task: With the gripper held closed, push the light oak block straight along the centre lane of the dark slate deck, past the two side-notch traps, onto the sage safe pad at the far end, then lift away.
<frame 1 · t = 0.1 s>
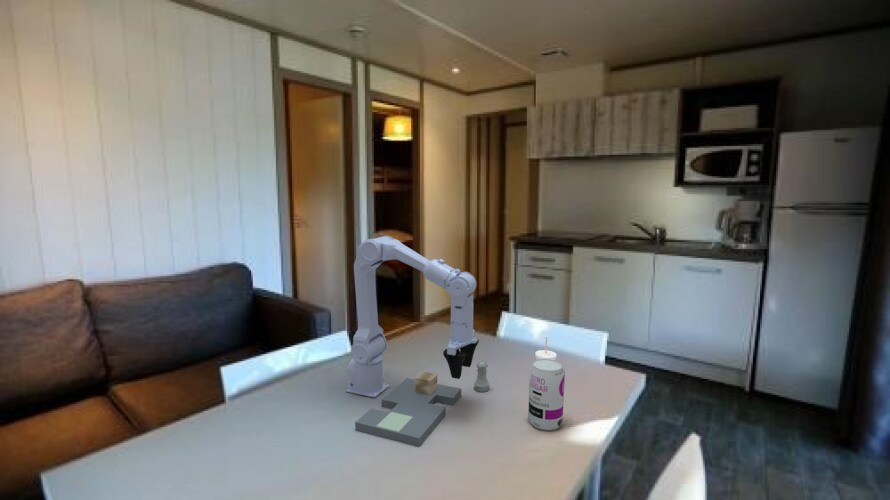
hand: (461, 371, 111), 10 cm above the table, fingers open, 7 cm apart
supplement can: (545, 423, 106), on the table
rook chess piece: (481, 389, 124), on the table
oak block: (426, 389, 119), point 2 cm above the table, touching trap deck
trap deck: (412, 411, 111), on the table
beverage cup: (544, 383, 127), on the table
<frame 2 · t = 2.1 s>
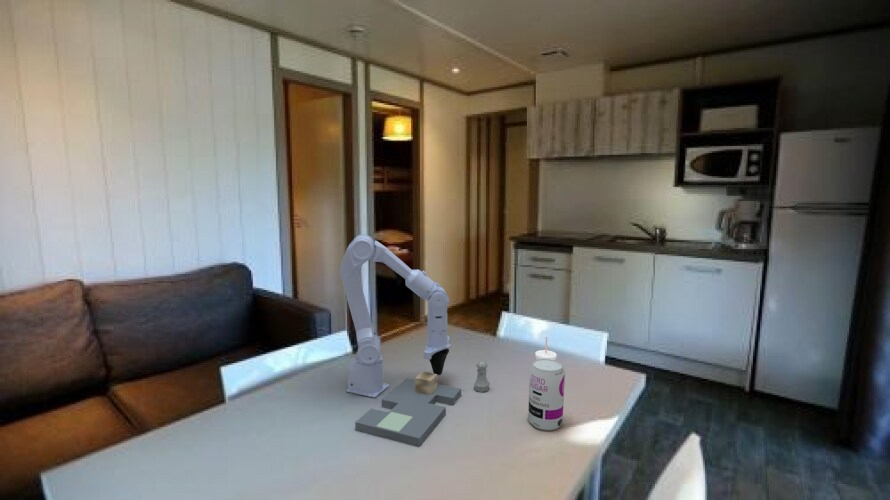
hand: (437, 373, 125), 4 cm above the table, fingers closed
nothing on the table moved.
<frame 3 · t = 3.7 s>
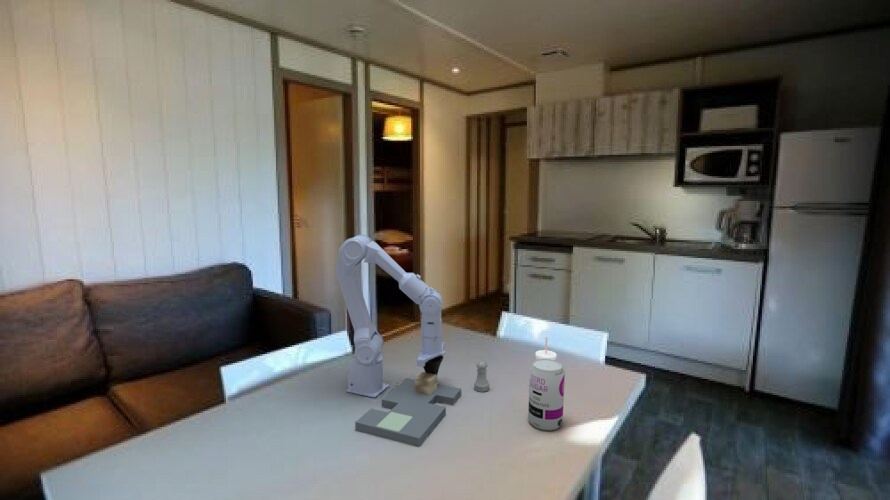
hand: (431, 381, 122), 3 cm above the table, fingers closed
oak block: (426, 390, 118), point 2 cm above the table, touching gripper
everything else where it was.
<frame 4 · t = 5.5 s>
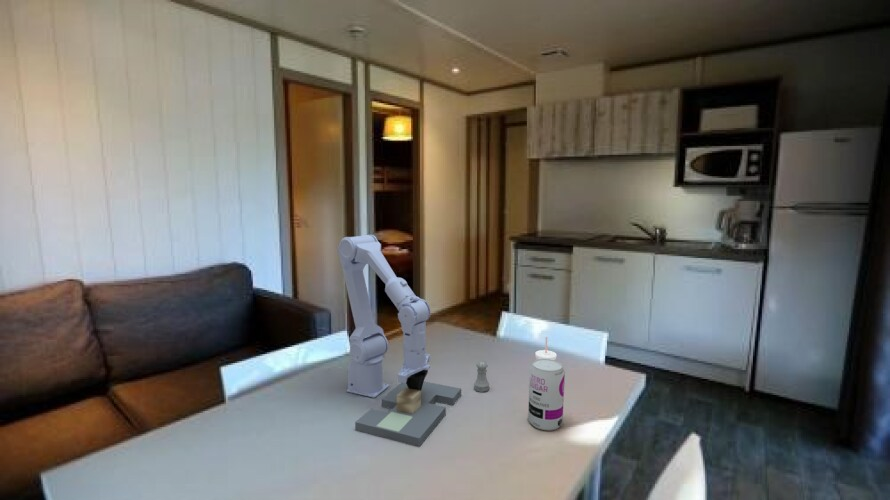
hand: (415, 397, 112), 3 cm above the table, fingers closed
oak block: (409, 407, 109), point 2 cm above the table, touching gripper
everything else where it was.
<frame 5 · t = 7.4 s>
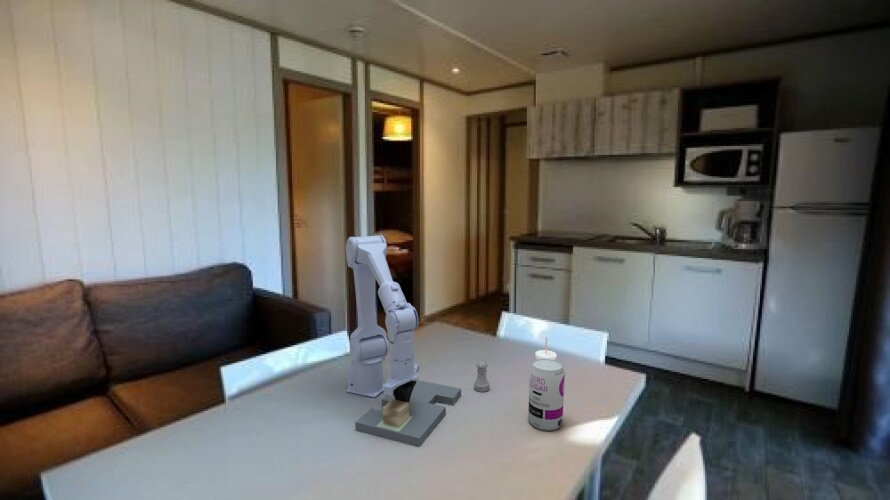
hand: (402, 409, 106), 3 cm above the table, fingers closed
oak block: (396, 420, 103), point 2 cm above the table, touching gripper, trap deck
everything else where it was.
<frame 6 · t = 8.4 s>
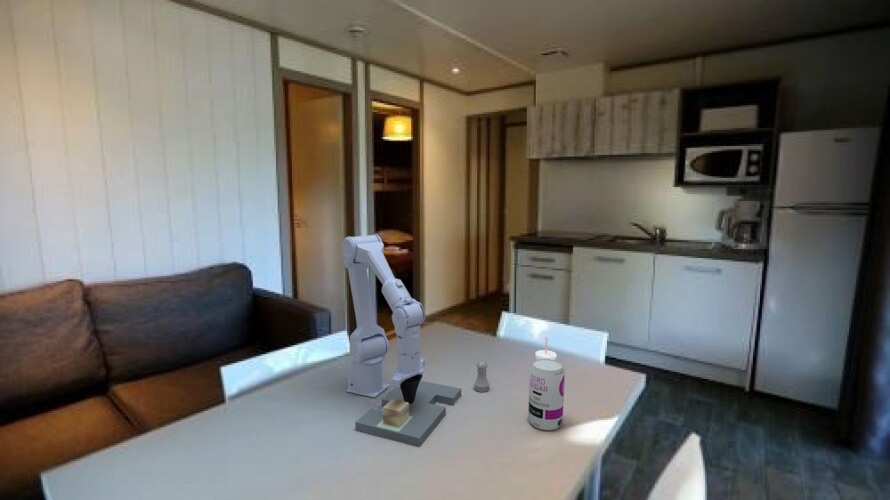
hand: (409, 402, 109), 3 cm above the table, fingers closed
oak block: (396, 420, 103), point 2 cm above the table, touching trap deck
everything else where it was.
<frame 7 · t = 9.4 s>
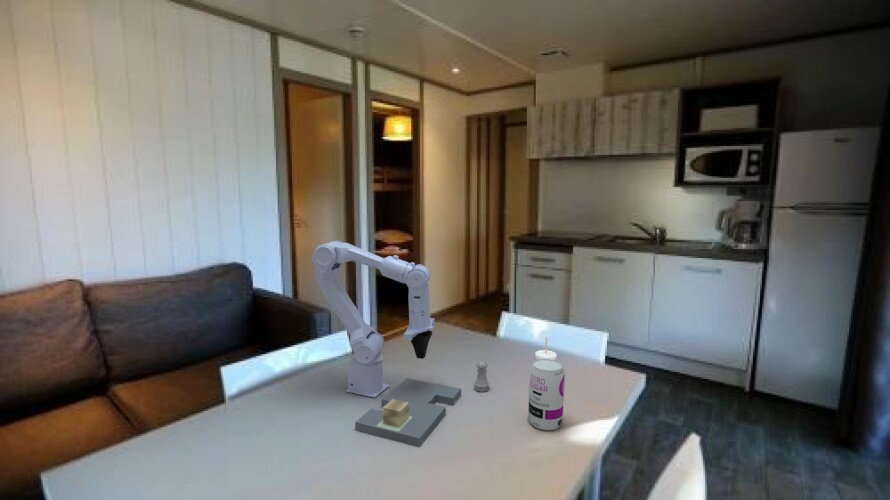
hand: (420, 357, 120), 10 cm above the table, fingers closed
nothing on the table moved.
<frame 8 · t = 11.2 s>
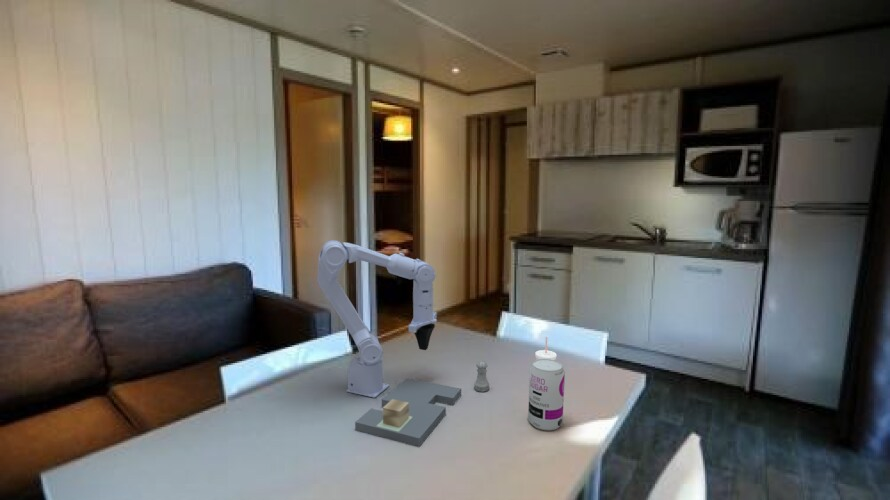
hand: (423, 349, 126), 10 cm above the table, fingers closed
nothing on the table moved.
at the end: oak block 0.3 cm from the target spot, point 2.0 cm above the table; oak block tilted 0°; oak block touching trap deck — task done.
